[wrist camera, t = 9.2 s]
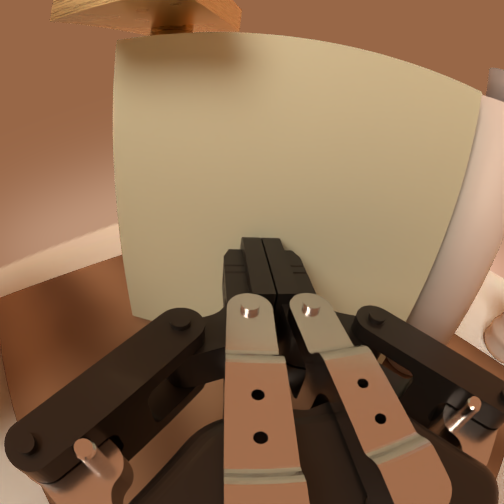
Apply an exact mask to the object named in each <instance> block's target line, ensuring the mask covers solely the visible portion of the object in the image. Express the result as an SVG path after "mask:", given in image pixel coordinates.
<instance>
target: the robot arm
mask: <svg viewBox="0 0 504 504" xmlns="http://www.w3.org/2000/svg"><path fill="white" fill-rule="evenodd" d="M222 295H223V308H222V309H221V310H220V311H219V312H217V313H215V314H212V315H209V316H205V317H202V316H201V315H200V314H199V313H198V312H196V311H194V310H192V309H189V308H173V309H169V310H167V311H165V312H164V313H162V314H161V315H159V316H158V317H157V318H155V319H154V320H153V321H151V322H150V323H149V324H147V325H146V326H145V327H143V328H142V329H141V330H139V331H138V332H137V333H135V334H134V335H133V336H131V337H130V338H129V339H127V340H126V341H124V342H123V343H122V344H120V345H119V346H118V347H116V348H115V349H114V350H112V351H111V352H110V353H108V354H107V355H106V356H104V357H103V358H102V359H100V360H99V361H98V362H96V363H95V364H94V365H92V366H91V367H90V368H88V369H87V370H86V371H84V372H83V373H82V374H80V375H79V376H78V377H76V378H75V379H74V380H72V381H71V382H70V383H68V384H67V385H66V386H64V387H63V388H62V389H60V390H59V391H58V392H56V393H55V394H54V395H52V396H51V397H50V398H48V399H47V400H46V401H44V402H43V403H42V404H40V405H39V406H38V407H36V408H35V409H34V410H32V411H31V412H30V413H28V414H27V415H26V416H24V417H23V418H22V419H20V420H19V421H18V422H16V423H15V424H14V425H13V426H12V427H11V428H10V429H9V430H8V432H7V434H6V437H5V443H4V446H5V452H6V455H7V457H8V459H9V461H10V462H11V463H12V464H13V465H14V466H15V467H16V468H18V469H19V470H20V471H22V472H23V473H25V474H26V475H27V476H28V477H29V478H30V479H32V480H33V481H34V482H36V483H38V484H39V485H41V486H42V487H43V488H44V490H45V491H46V492H47V493H48V495H49V496H50V497H51V498H52V499H53V501H54V502H55V503H56V504H123V500H124V496H125V494H126V492H127V491H128V489H129V488H130V487H131V485H132V483H133V479H134V473H133V469H132V467H131V465H130V463H129V461H130V460H131V459H132V458H133V457H134V456H135V455H136V454H137V453H138V452H139V451H140V450H141V449H143V448H144V447H145V446H146V445H147V444H148V443H149V442H150V441H151V440H152V439H153V438H154V437H155V436H156V435H157V434H158V433H159V432H160V431H161V430H162V429H163V428H164V427H165V426H166V425H168V424H169V423H170V422H171V421H172V420H173V419H174V418H175V417H176V416H177V415H178V414H179V413H180V412H181V411H182V410H183V409H184V408H185V407H186V406H187V405H188V404H189V403H190V402H191V401H192V400H193V399H194V398H195V396H196V395H197V394H198V393H199V392H200V391H201V390H202V389H203V388H204V386H205V384H206V383H209V382H213V381H216V380H220V379H223V414H222V419H219V420H217V421H214V422H212V423H210V424H208V425H206V426H204V427H203V428H201V429H200V430H198V431H197V432H196V433H194V434H193V435H192V436H191V437H190V438H189V439H188V440H187V441H186V442H185V443H184V444H183V445H182V447H181V448H180V449H179V450H178V451H177V452H176V453H175V454H174V456H173V457H172V458H171V459H170V460H169V461H168V462H167V463H166V464H165V465H164V467H163V468H162V469H161V470H160V471H159V472H158V473H157V474H156V475H155V476H154V477H153V478H152V479H151V481H150V482H149V483H148V484H147V485H146V486H145V487H144V488H143V489H142V490H141V491H140V492H139V493H138V494H137V495H136V496H135V497H134V498H133V499H132V500H131V501H130V502H129V503H128V504H498V496H499V492H498V485H497V481H496V478H495V476H494V475H493V473H492V472H491V470H490V469H489V468H488V467H487V464H488V461H489V458H490V455H491V451H492V448H493V445H494V441H495V438H496V434H497V431H498V429H499V427H501V426H502V425H503V424H504V381H503V380H502V379H500V378H498V377H497V376H495V375H493V374H492V373H490V372H489V371H487V370H485V369H484V368H482V367H480V366H479V365H477V364H475V363H474V362H472V361H470V360H469V359H467V358H465V357H464V356H462V355H460V354H459V353H457V352H456V351H454V350H452V349H451V348H449V347H447V346H446V345H444V344H442V343H440V342H439V341H437V340H435V339H434V338H432V337H430V336H429V335H427V334H425V333H424V332H422V331H420V330H419V329H417V328H415V327H414V326H412V325H410V324H408V323H407V322H405V321H403V320H402V319H400V318H398V317H397V316H395V315H393V314H391V313H390V312H388V311H386V310H385V309H383V308H380V307H377V306H373V305H367V306H363V307H361V308H360V309H359V310H358V311H357V313H356V316H355V315H349V314H344V313H339V312H336V311H334V310H333V308H332V306H331V305H330V303H329V302H328V301H327V300H326V299H325V298H323V297H321V296H319V295H317V294H316V292H315V290H314V288H313V285H312V283H311V281H310V278H309V276H308V274H307V272H306V269H305V267H304V265H303V263H302V260H301V258H300V257H299V256H298V255H297V254H296V253H294V252H293V251H291V250H284V248H283V245H282V243H281V240H280V238H259V237H242V238H241V244H240V249H228V251H227V252H226V254H225V255H224V259H223V279H222ZM278 349H279V351H278ZM380 354H383V355H384V356H386V357H388V358H389V359H391V360H392V361H394V362H396V363H397V364H399V365H400V366H402V367H404V368H405V369H407V370H408V371H410V372H411V374H412V375H413V377H412V378H409V379H405V378H402V377H401V376H399V375H397V374H396V373H394V372H393V371H391V370H389V369H388V368H386V367H385V366H383V365H382V364H380V363H378V362H377V360H378V358H379V356H380Z"/></svg>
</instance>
